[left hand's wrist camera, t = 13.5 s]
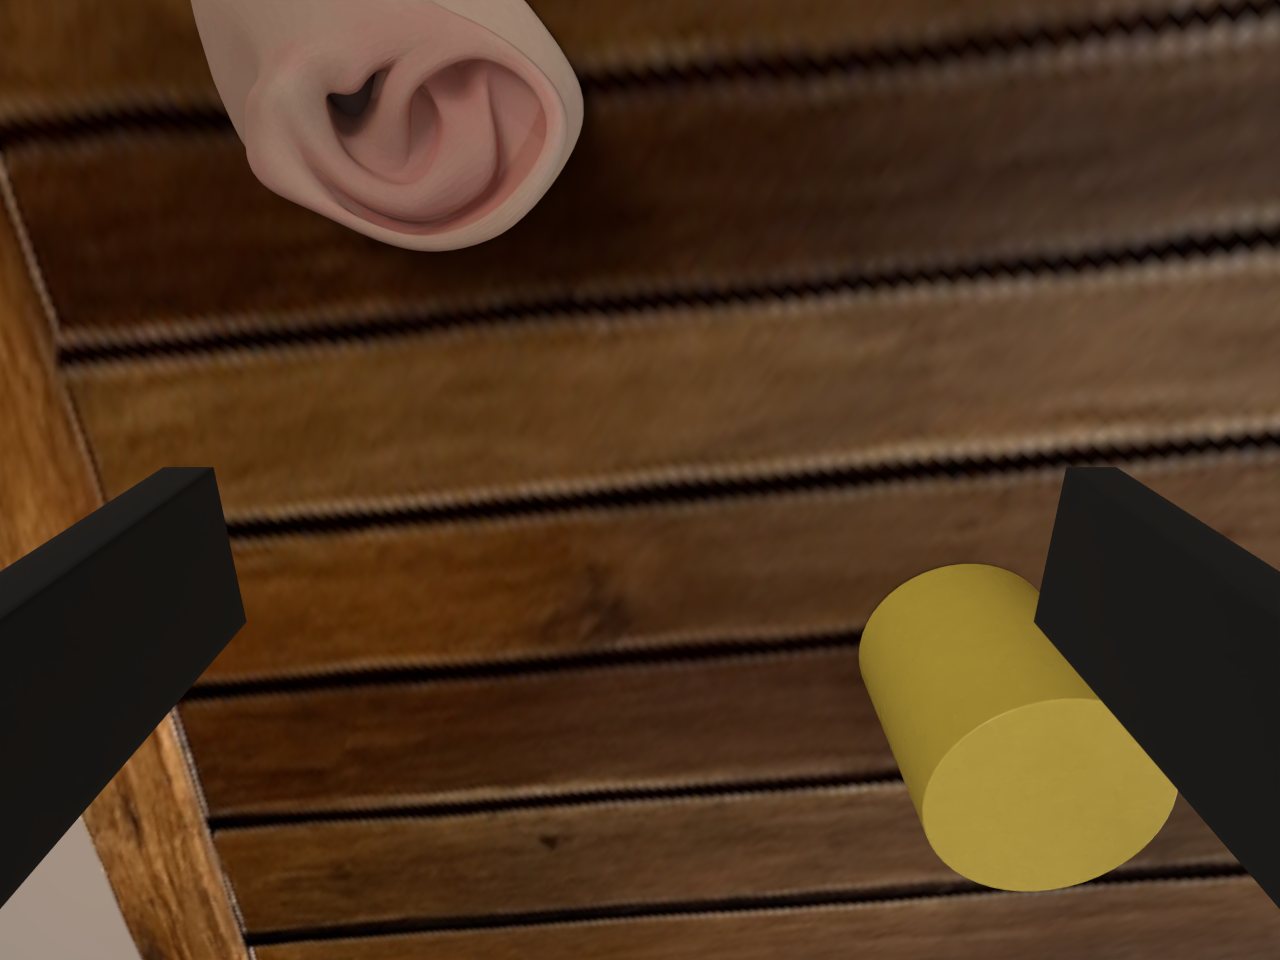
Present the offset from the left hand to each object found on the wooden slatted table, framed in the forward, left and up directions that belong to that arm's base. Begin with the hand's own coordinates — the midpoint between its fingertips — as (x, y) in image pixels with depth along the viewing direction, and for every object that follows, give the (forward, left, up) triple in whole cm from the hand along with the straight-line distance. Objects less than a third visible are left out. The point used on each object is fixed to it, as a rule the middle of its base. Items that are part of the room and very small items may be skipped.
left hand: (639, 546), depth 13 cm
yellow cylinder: (-13, +18, -21) cm, 30 cm away
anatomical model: (+8, -9, -21) cm, 24 cm away
